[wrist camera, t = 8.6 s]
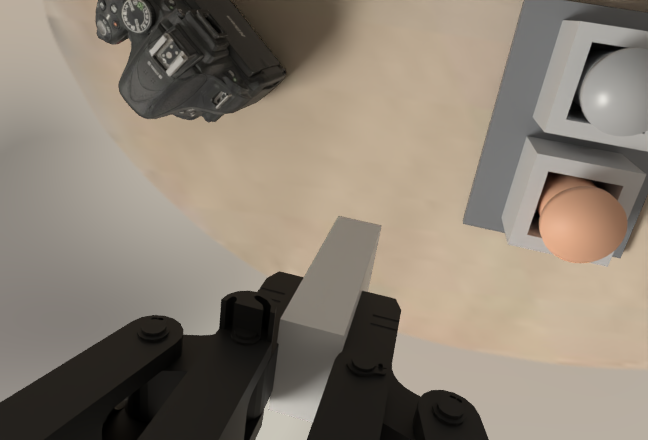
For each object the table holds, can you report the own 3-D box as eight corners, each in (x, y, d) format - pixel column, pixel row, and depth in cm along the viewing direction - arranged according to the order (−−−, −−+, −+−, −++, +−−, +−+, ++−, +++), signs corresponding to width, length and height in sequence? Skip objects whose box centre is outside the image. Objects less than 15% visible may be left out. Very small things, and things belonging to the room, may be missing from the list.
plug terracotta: (539, 155, 36) (555, 182, 30) (610, 169, 35) (640, 199, 30) (519, 217, 38) (530, 253, 32) (586, 231, 37) (610, 271, 32)
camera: (127, 61, 43) (41, 73, 34) (161, -59, 39) (74, -80, 30) (262, 137, 43) (212, 169, 34) (312, 24, 39) (270, 27, 30)
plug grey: (575, 37, 33) (600, 41, 28) (652, 49, 33) (694, 56, 27) (551, 109, 35) (570, 127, 30) (624, 122, 35) (658, 143, 29)
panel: (525, -5, 35) (538, -9, 29) (715, 23, 33) (766, 24, 28) (462, 220, 42) (464, 250, 36) (617, 253, 40) (643, 291, 34)
